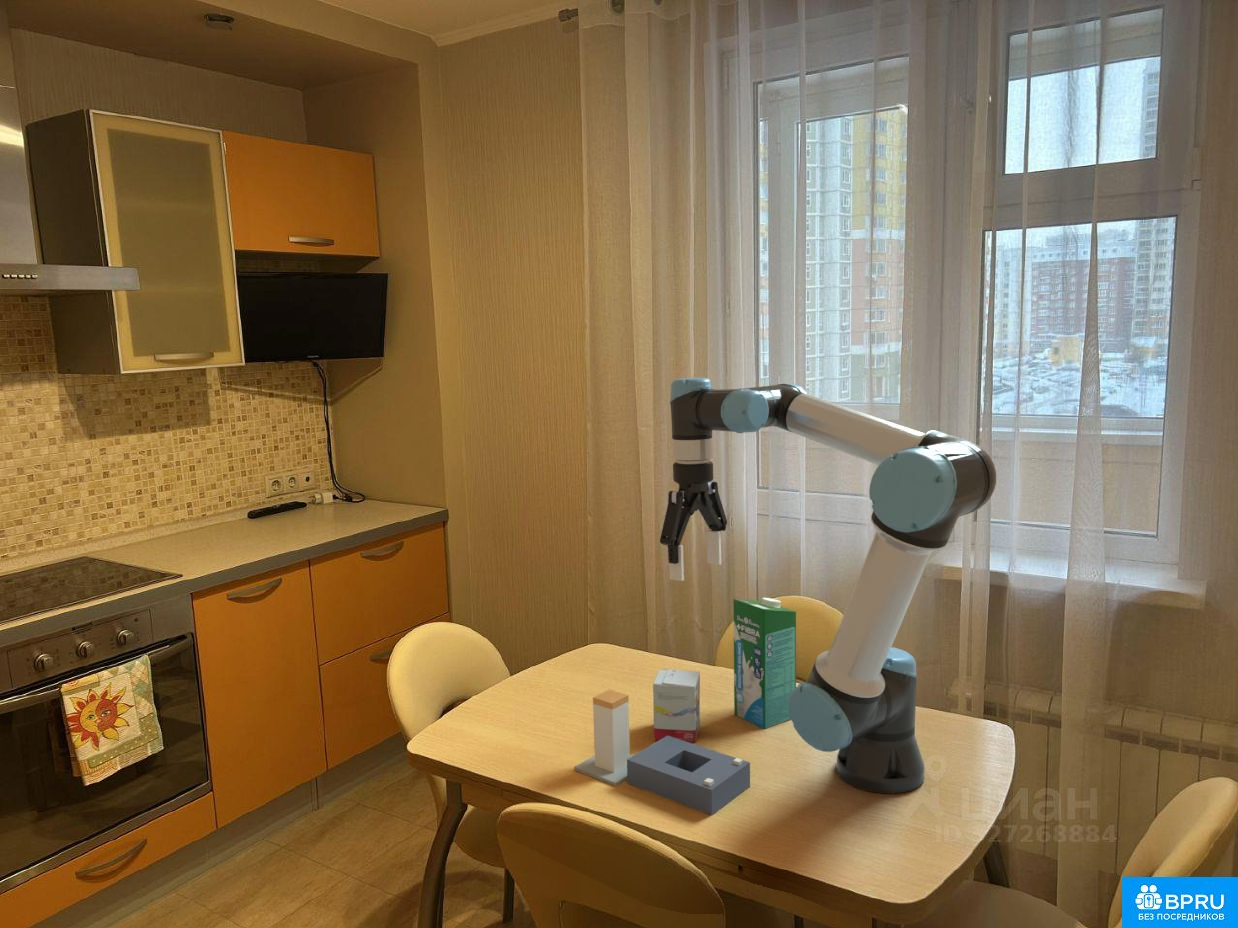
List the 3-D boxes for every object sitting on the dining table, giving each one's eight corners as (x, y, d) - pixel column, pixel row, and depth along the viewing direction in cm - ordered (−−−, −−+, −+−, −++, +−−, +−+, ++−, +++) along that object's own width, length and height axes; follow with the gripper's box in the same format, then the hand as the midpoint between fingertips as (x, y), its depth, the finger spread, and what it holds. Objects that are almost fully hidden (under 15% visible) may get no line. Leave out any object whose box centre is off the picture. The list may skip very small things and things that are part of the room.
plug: (630, 762, 169) (628, 694, 167) (614, 772, 165) (612, 703, 163) (611, 756, 172) (609, 689, 170) (595, 765, 168) (592, 697, 166)
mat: (650, 764, 169) (650, 761, 169) (616, 785, 162) (615, 782, 162) (609, 749, 176) (609, 746, 176) (574, 769, 168) (574, 766, 168)
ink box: (696, 743, 177) (695, 685, 176) (652, 740, 179) (651, 683, 177) (701, 724, 186) (700, 669, 184) (659, 722, 188) (658, 667, 186)
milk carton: (796, 717, 188) (796, 600, 184) (763, 729, 183) (763, 608, 179) (765, 703, 195) (765, 590, 192) (733, 714, 190) (732, 598, 187)
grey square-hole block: (750, 786, 160) (749, 759, 160) (711, 815, 151) (711, 786, 150) (667, 757, 172) (667, 732, 171) (627, 783, 163) (626, 756, 162)
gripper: (709, 452, 183) (712, 555, 186) (637, 468, 163) (642, 584, 166) (742, 453, 178) (745, 559, 181) (673, 470, 159) (677, 589, 161)
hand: (696, 571), depth 174 cm, fingers open, 13 cm apart
